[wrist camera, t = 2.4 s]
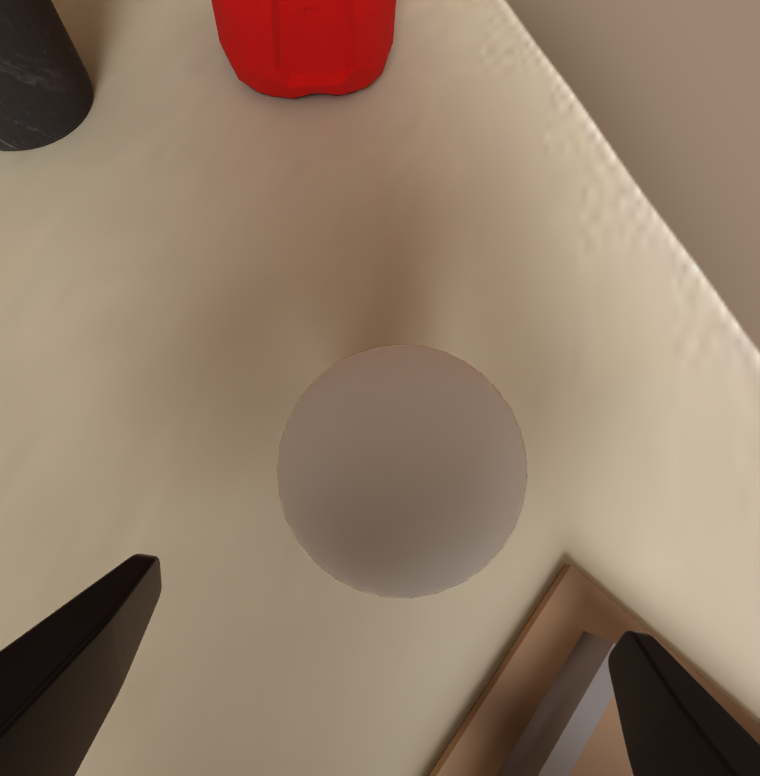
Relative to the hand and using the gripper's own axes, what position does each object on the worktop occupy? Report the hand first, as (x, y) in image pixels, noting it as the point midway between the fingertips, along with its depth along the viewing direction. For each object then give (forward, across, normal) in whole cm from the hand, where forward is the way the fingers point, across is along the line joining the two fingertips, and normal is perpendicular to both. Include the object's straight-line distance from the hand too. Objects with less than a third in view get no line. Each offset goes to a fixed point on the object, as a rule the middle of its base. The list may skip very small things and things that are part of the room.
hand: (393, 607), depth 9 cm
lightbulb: (+9, 0, +5) cm, 11 cm away
